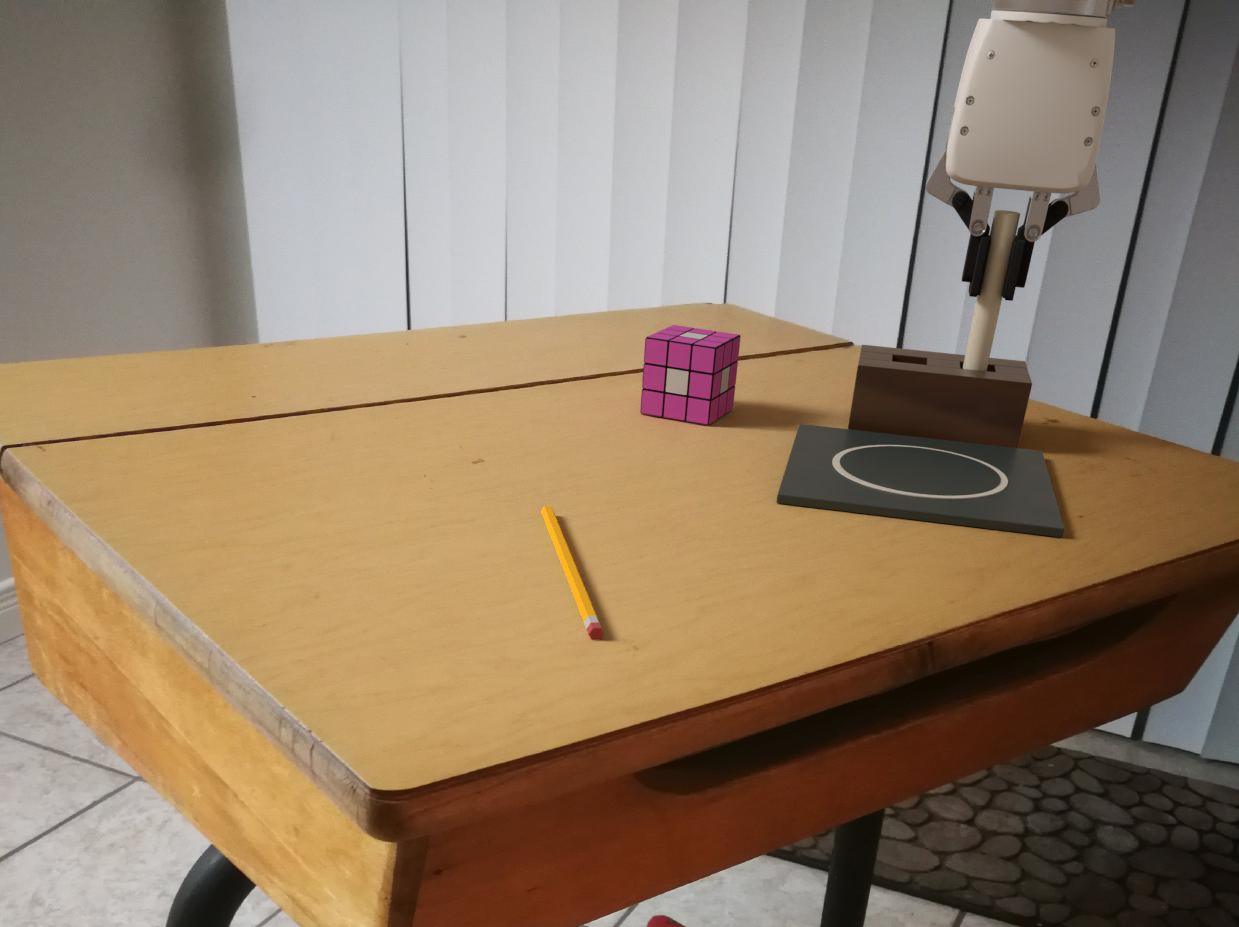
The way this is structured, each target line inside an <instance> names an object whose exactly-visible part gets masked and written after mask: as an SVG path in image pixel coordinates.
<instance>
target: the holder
mask: <svg viewBox="0 0 1239 927" xmlns="http://www.w3.org/2000/svg"><path fill="white" fill-rule="evenodd" d="M964 359H965V354H959V353H958V354H957V353H950V352H949V353H947V352H939V351H928V350H919V349H909V348H899V347H891V346H881V345H872V344H861V347H860V352H859V358H858V363H857V369H856V375H855V380H854V388H853V394H852V400H851V407H850V413H849V418H848V419H849V420H848V426H847V429H851V430H860V431H869V432H878V433H887V434H896V435H905V436H913V437H922V438H931V439H940V440H949V441H958V442H967V443H976V444H985V445H994V446H1003V447H1012V448H1019V444H1020V439H1021V435H1022V430H1023V426H1024V422H1025V417H1026V413H1027V409H1028V405H1029V399H1030V395H1031V392H1032V387H1033V382H1032V378H1031V376H1030V372H1029V370H1028V366H1027V362H1026V361H1025V360H1018V359H1017V360H1016V359H1007V358H996V357H995V358H994V357H989V362H988V367H987V371H979V370H969V369H962V368H963V363H964Z"/></svg>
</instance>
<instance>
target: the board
mask: <svg viewBox="0 0 1239 927" xmlns="http://www.w3.org/2000/svg"><path fill="white" fill-rule="evenodd" d="M788 457H789V458H788V460H787V463H786V466H785V468H784V469H785V470H784V473H783V476H782V479H781V483H780V486H779V488H778V492H777V497H776V504H780V505H788V506H789V505H790V506H798V507H805V508H813V509H814V508H815V509H821V510H822V509H823V510H831V511H839V512H845V513H846V512H847V513H856V514H865V515H873V516H879V517H887V518H888V517H889V518H896V519H905V520H911V521H912V520H914V521H920V522H929V523H939V524H946V525H955V526H963V527H972V528H980V529H987V530H994V531H995V530H996V531H1003V532H1011V533H1012V532H1013V533H1021V534H1029V535H1037V536H1044V537H1053V538H1063V537H1064V533H1065V525H1064V522H1063V519H1062V515H1061V512H1060V508H1059V506H1058V502H1057V498H1056V495H1055V491H1054V488H1053V483H1052V481H1051V478H1050V473H1049V470H1048V467H1047V464H1046V460H1045V456H1044V453H1043V451H1042V450H1036V449H1030V448H1019V447H1018V448H1012V447H1003V446H994V445H985V444H976V443H967V442H958V441H949V440H940V439H931V438H922V437H913V436H905V435H896V434H887V433H878V432H869V431H860V430H851V429H848V428H842V427H841V428H840V427H834V426H833V427H832V426H823V425H816V424H815V425H814V424H805V423H799V424H798V427H797V431H796V434H795V438H794V441H793V444H792V447H791V450H790V454H789V456H788Z"/></svg>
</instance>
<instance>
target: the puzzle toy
mask: <svg viewBox="0 0 1239 927" xmlns="http://www.w3.org/2000/svg"><path fill="white" fill-rule="evenodd" d="M741 336H742V335H740V334H738V333H731V332H726V331H725V332H724V331H716V330H713V329H712V330H711V329H705V328H699V327H698V328H697V327H696V328H694V327H691V326H685V325H678V324H672V325H670V326H668V327H665V328H663V329H661V330H659V331H657V332H654V333H651V334H649V335H647V336H646V337H645V339H644V351H643V353H644V354H643V368H642V382H641V398H640V410H639V412H640V414H641V415H644V416H650V417H655V418H661V419H663V418H664V419H668V420H672V421H679V422H687V423H690V424H696V425H702V426H709V425H710V426H711V425H712V424H713V423H715V422H717V421H718V420H719V419H721V418H722V417H724V416H725V415H726V414H729V413H730V412H731V411H732V410H733V409H734V402H735V393H736V383H737V375H738V366H739V361H738V360H739V356H740V348H741V347H740V346H741V338H742V337H741Z"/></svg>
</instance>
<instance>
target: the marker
mask: <svg viewBox="0 0 1239 927" xmlns="http://www.w3.org/2000/svg"><path fill="white" fill-rule="evenodd" d="M1020 217H1021V213H1020V212H1018V211H1013V210H1003V209H1001V210H1000V209H997V210H995V211H994V212H993V218H992V222H991V227H990V232H989V235H990V236H989V238H991V244H990V249H989V254H988V259H987V263H986V268H985V273H984V278H983V283H982V288H981V292H980V296H979V295H977V297H976V300H975V305H974V309H973V310H974V311H973V314H972V320H971V324H970V330H969V335H968V338H967V343H966V344H967V345H966V349H965V354H964V355H965V359H964V363H963V368H962V369H969V370H979V371H987V367H988V362H989V358H991V357H990V356H991V351H992V347H993V344H994V338H995V334H996V328H997V325H998V320H999V316H1000V310H1001V305H1002V301H1003V297H1002V294H1003V290H1004V285H1005V281H1006V276H1007V271H1008V267H1009V262H1010V257H1011V253H1012V248H1013V243H1014V240H1015V236H1016V235H1017V232H1018V228H1019V227H1018V226H1019V222H1020Z"/></svg>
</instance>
